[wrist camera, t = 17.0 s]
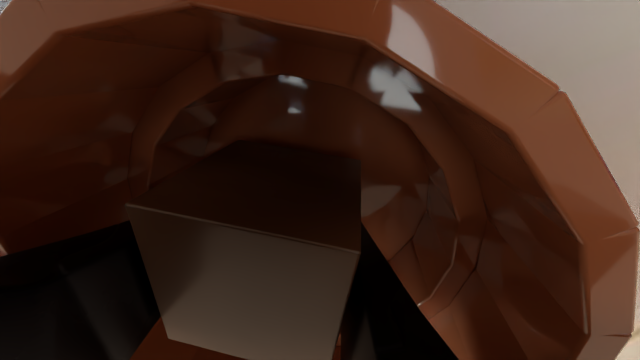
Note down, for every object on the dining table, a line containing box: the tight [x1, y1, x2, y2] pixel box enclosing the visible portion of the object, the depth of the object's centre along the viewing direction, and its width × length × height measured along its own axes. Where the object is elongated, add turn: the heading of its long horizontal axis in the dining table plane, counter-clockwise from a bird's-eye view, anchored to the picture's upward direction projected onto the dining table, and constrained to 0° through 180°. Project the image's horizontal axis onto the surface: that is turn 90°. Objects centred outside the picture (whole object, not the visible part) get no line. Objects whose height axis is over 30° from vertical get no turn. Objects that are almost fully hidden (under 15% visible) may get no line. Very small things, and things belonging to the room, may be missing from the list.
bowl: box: [0, 0, 640, 360], centre depth 8 cm, size 13×13×7 cm
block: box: [125, 140, 361, 360], centre depth 8 cm, size 5×5×5 cm
